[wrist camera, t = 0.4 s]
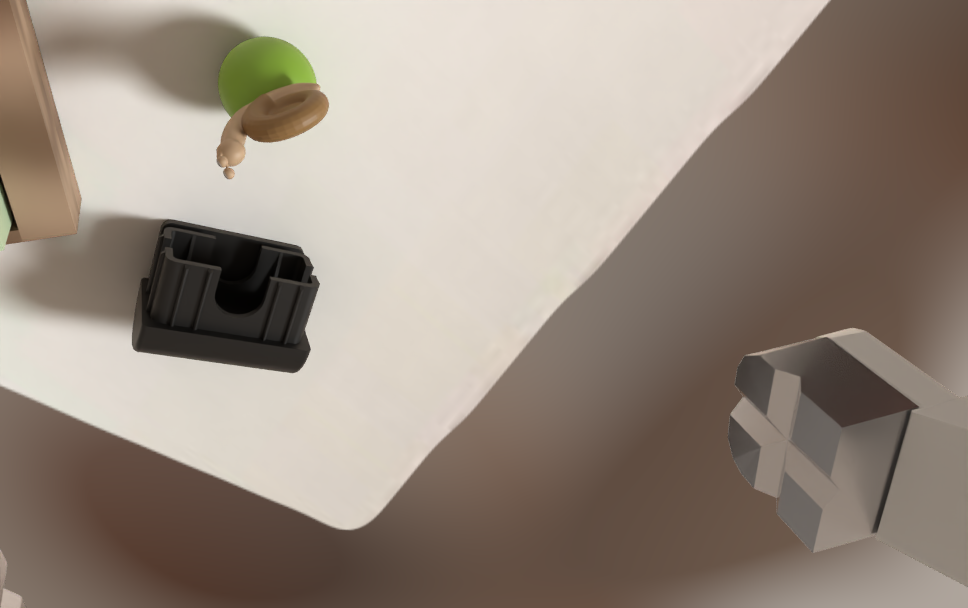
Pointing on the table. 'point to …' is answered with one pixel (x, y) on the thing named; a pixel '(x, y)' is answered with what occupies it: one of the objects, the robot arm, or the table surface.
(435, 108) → the table surface
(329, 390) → the table surface
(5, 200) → the sage key
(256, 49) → the snail figurine
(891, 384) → the robot arm
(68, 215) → the key panel
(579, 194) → the table surface
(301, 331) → the end cap
